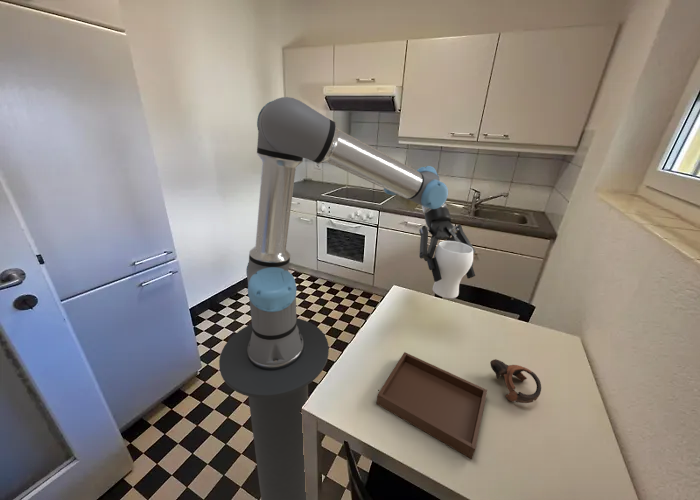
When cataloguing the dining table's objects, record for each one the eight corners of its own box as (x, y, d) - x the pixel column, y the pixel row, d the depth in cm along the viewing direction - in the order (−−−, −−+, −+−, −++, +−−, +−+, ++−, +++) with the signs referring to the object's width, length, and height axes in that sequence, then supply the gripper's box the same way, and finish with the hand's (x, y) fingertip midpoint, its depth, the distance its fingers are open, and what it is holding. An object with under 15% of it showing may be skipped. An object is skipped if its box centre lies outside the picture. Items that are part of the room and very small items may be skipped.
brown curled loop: (535, 385, 74) (551, 378, 67) (520, 416, 70) (536, 412, 64) (491, 355, 79) (502, 346, 73) (475, 382, 75) (486, 375, 69)
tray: (376, 403, 66) (377, 394, 65) (403, 360, 79) (404, 351, 78) (471, 459, 56) (475, 449, 55) (484, 398, 69) (487, 389, 68)
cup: (465, 288, 88) (476, 245, 82) (461, 305, 79) (473, 257, 73) (431, 279, 92) (440, 237, 86) (424, 294, 83) (433, 248, 78)
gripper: (408, 206, 82) (426, 278, 74) (473, 205, 88) (496, 272, 81) (398, 218, 88) (413, 285, 81) (459, 216, 95) (479, 279, 87)
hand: (455, 278), depth 81 cm, fingers closed on cup, 11 cm apart
